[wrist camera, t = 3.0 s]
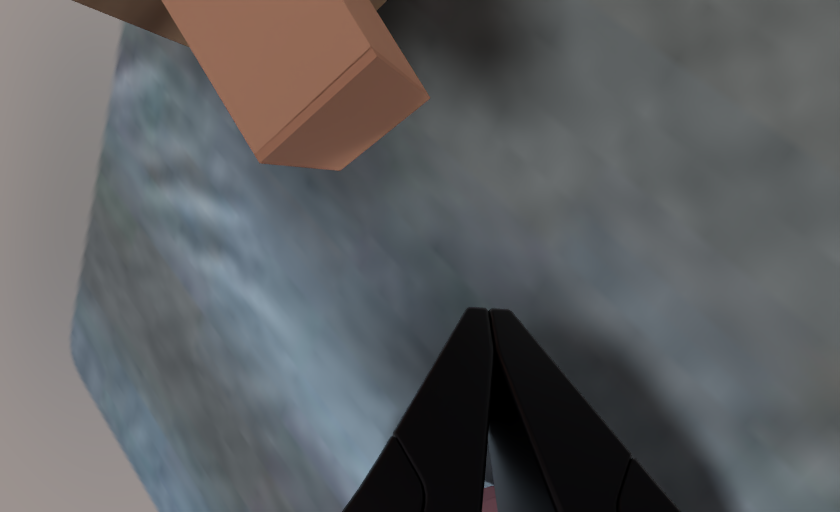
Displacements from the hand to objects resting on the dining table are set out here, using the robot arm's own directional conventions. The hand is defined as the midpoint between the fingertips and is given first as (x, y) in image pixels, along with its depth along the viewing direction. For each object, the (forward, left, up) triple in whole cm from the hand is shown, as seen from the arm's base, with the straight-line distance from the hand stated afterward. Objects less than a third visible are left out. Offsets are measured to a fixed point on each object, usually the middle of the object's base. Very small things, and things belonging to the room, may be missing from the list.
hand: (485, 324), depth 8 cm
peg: (+7, +9, -6) cm, 13 cm away
